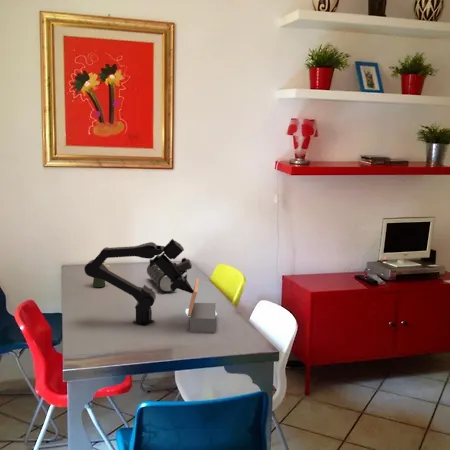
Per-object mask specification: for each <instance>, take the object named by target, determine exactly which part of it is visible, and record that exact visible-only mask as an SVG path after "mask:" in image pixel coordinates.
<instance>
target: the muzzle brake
mask: <svg viewBox="0 0 450 450" xmlns="http://www.w3.org/2000/svg"><path fill="white" fill-rule="evenodd" d="M146 273H147V276H149V277H150V279H151V280H152V281H153V282H154V283H155V284H156V286H157V287H158V289H159V290H161V291H162V292H171V291H173V290H172V289H171V288H170V285H171V282H170V279H169V278H168V277H167V276H166V275H165V276H164V275H163V272H162V271H161V270H160V269H159V268H158V267H157V266H156V265H155V264H154V265H153V266H152V267H150V263H149V264H148V266H147V267H146Z"/></svg>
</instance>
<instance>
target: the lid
mask: <svg viewBox="0 0 450 450" xmlns="http://www.w3.org/2000/svg"><path fill="white" fill-rule="evenodd" d="M199 283H200V278H198V277H196V280H195V283H194V286H193V291H194V292H193V293H191V298H190V301H189V307H188V312H187V317H191V313H192V309H193V306H194V303H196V298H197V294H198V288H199Z"/></svg>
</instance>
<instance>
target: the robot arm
mask: <svg viewBox="0 0 450 450" xmlns="http://www.w3.org/2000/svg"><path fill="white" fill-rule="evenodd" d="M183 251H185V249H184V247H183V246H182V244H180V242H178V241H176V240H174V239H173V238H172V239H170V240H169V242H168V243H167V244H166V245H165V246H164V245H159V244H156V243H155V242H152V241H150V242H147V243H142V244H138V245H135V246H117V247H104V248H102V249H101V250H100V252H99V254H98V255H97V256H96V257H95V258H94V259H91V260H89V261H88V262H87V263H86V264H85V265H84V274H85V275H86V276H88V277H91V278H93V279H94V278H96V279H102V280H105V283H108V284H110V285H112V286H113V287H115V288H117V289H119V290H121V291H123V292H125V293H127V294H128V295H130V296H132V297H133V298H134V299H135V300H136V304H135V306H134V308H135V320H132V321H133V322H132V323H134V324H137V325H140V326H144V327H145V326H147V325H150V324H152V323H154V322H155V321H154V320H153V319H152V314H153V313H152V312H153V311H152V307H153V305H154V304H155V301H156V299H157V298H156V293H155V291H154V290H153V288H149V287H148V286H147V285H146V284H144V285H143V286H142V287H140V286H138V285H135V284H134V283H132V282H130V281H129V280H127V279H125V278H123V277H121V276H119V275H118V274H116V273H114V272H112V271H111V270H110V271H109V270H108V267H105V265H103V262H104V261H105V262H106V260H107V259H110V258H111V259H114V258H127V257H128V258H129V257H130V258H131V257H136V258H137V257H138V258H142V259H149V264H150V267H152V266H153V265H154V264H155V265H156V266H157V267H158V269H159V270H161V271H162V272H163V275H164V276H165V275H166V276H167V277H168V278H169V279H170V282H171V285H170V288H171V289H172V290H171V291H172V292H175V291H177V289H179V290H181V291H184V292H186V293H189V294H192V293H193V292H194V291H193V290H194V288H192V285H191V284H190V283H189V281H188V274H185V273H187V272H188V270H191V269H192V267H193V266H192V263H191V260H190V259H189V258H186V257H183V258H182V259H181V262H179V263H176V262H173V261H172V260H176V259H177V257H179V256H180V254H182V253H183ZM184 274H185V275H184Z"/></svg>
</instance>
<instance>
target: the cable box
mask: <svg viewBox="0 0 450 450" xmlns="http://www.w3.org/2000/svg"><path fill="white" fill-rule="evenodd" d="M216 305H217V304H216V303H215V302H194V306H193V309H192V313H191V316H190V318H189V321H190V323H189V325H190V326H189V332H190V333H207V334H209V333H212V334H215V331H216Z"/></svg>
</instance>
